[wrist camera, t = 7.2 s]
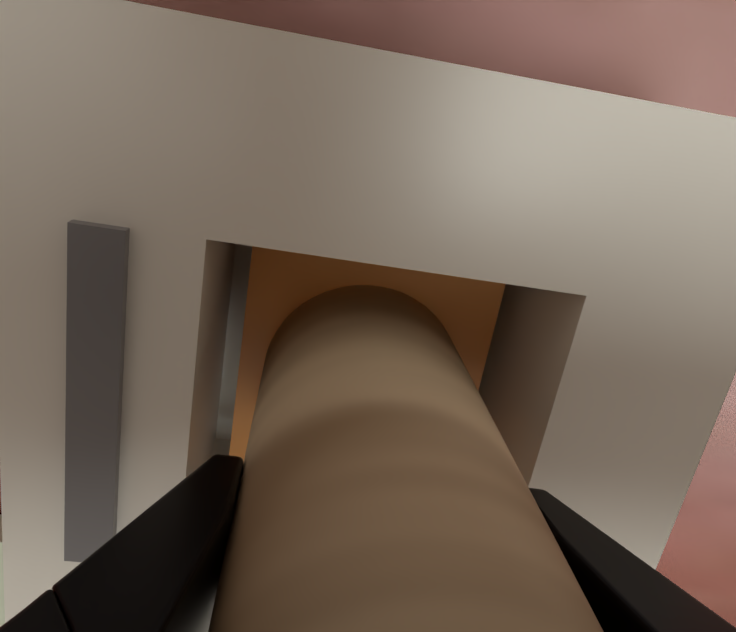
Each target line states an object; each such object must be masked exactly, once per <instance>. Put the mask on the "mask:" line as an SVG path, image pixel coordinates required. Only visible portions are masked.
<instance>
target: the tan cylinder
mask: <svg viewBox="0 0 736 632" xmlns="http://www.w3.org/2000/svg"><path fill="white" fill-rule="evenodd" d="M208 632H604V631H603V630H602V628H601V626H600V624H599V622H598V620H597V618H596V616H595V614H594V612H593V610H592V608H591V607H590V605H589V603H588V601H587V599H586V597H585V595H584V593H583V591H582V589H581V587H580V585H579V584H578V582H577V580H576V578H575V576H574V574H573V572H572V570H571V568H570V566H569V564H568V562H567V560H566V559H565V557H564V555H563V553H562V551H561V549H560V547H559V545H558V543H557V541H556V539H555V537H554V536H553V534H552V532H551V530H550V528H549V526H548V524H547V522H546V520H545V518H544V516H543V514H542V513H541V511H540V509H539V507H538V505H537V503H536V501H535V499H534V497H533V495H532V493H531V491H530V490H529V488H528V486H527V484H526V482H525V480H524V478H523V476H522V474H521V472H520V470H519V468H518V467H517V465H516V463H515V461H514V459H513V457H512V455H511V453H510V451H509V449H508V447H507V445H506V444H505V442H504V440H503V438H502V436H501V434H500V432H499V430H498V428H497V426H496V424H495V422H494V420H493V419H492V417H491V415H490V413H489V411H488V409H487V407H486V405H485V403H484V401H483V399H482V397H481V396H480V394H479V392H478V390H477V388H476V386H475V384H474V382H473V380H472V378H471V376H470V374H469V373H468V371H467V369H466V367H465V365H464V363H463V361H462V359H461V357H460V355H459V353H458V351H457V350H456V348H455V346H454V344H453V342H452V340H451V338H450V336H449V334H448V332H447V331H446V329H445V328H444V326H443V324H442V323H441V322H440V320H439V319H438V318H437V317H436V316H435V314H433V313H432V312H431V311H430V310H429V309H428V308H427V307H426V306H425V305H423V304H422V303H420V302H419V301H417V300H416V299H414V298H412V297H410V296H408V295H406V294H404V293H402V292H399V291H396V290H393V289H390V288H385V287H380V286H371V285H353V286H346V287H340V288H336V289H333V290H330V291H326V292H324V293H322V294H319V295H317V296H315V297H313V298H311V299H310V300H308V301H306V302H305V303H303V304H302V305H300V306H299V307H298V308H297V309H295V310H294V311H293V312H292V313H291V314H290V315H289V316H288V317H287V318H286V319H285V320H284V321H283V323H282V324H281V325H280V327H279V328H278V330H277V331H276V333H275V335H274V336H273V338H272V340H271V342H270V345H269V348H268V350H267V353H266V358H265V362H264V367H263V372H262V377H261V381H260V386H259V391H258V396H257V401H256V405H255V410H254V415H253V420H252V424H251V429H250V434H249V439H248V444H247V448H246V453H245V458H244V463H243V470H242V475H241V480H240V485H239V489H238V494H237V499H236V504H235V509H234V513H233V518H232V523H231V527H230V532H229V536H228V540H227V544H226V549H225V553H224V558H223V563H222V568H221V573H220V577H219V582H218V587H217V592H216V596H215V601H214V606H213V611H212V616H211V620H210V625H209V630H208Z"/></svg>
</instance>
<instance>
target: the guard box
mask: <svg viewBox="0 0 736 632" xmlns="http://www.w3.org/2000/svg"><path fill="white" fill-rule="evenodd" d="M252 246H254V247H261V248H268V249H275V250H281V251H288V252H295V253H302V254H308V255H315V256H322V257H328V258H335V259H342V260H349V261H355V262H362V263H369V264H376V265H382V266H389V267H396V268H403V269H409V270H416V271H423V272H429V273H436V274H443V275H450V276H456V277H463V278H470V279H477V280H483V281H490V282H497V283H503V284H506V285H505V289H504V293H503V297H502V301H501V305H500V309H499V312H498V316H497V320H496V324H495V328H494V332H493V336H492V340H491V344H490V348H489V351H488V355H487V359H486V363H485V367H484V371H483V375H482V379H481V383H480V386H479V390H478V392H479V394H480V396H481V397H482V399H483V401H484V403H485V405H486V407H487V409H488V411H489V413H490V415H491V417H492V419H493V420H494V422H495V424H496V426H497V428H498V430H499V432H500V434H501V436H502V438H503V440H504V442H505V444H506V445H507V447H508V449H509V451H510V453H511V455H512V457H513V459H514V461H515V463H516V465H517V467H518V468H519V470H520V472H521V474H522V476H523V478H524V480H525V482H526V484H527V486H528V488H536V489H543V490H545V491H547V492H549V493H550V494H551V495H553V496H554V497H555V498H557V499H558V500H560V501H561V502H562V503H564V504H565V505H566V506H568V507H569V508H571V509H572V510H573V511H575V512H576V513H578V514H579V515H580V516H582V517H583V518H584V519H586V520H587V521H589V522H590V523H591V524H593V525H594V526H596V527H597V528H598V529H600V530H601V531H602V532H604V533H605V534H607V535H608V536H609V537H611V538H612V539H613V540H615V541H616V542H618V543H619V544H620V545H622V546H623V547H625V548H626V549H627V550H629V551H630V552H631V553H633V554H634V555H636V556H637V557H638V558H640V559H641V560H643V561H644V562H645V563H647V564H648V565H649V566H651V567H652V568H654V569H655V570H656V567H657V565H658V562H659V560H660V557H661V555H662V553H663V550H664V548H665V545H666V543H667V540H668V538H669V535H670V533H671V530H672V528H673V525H674V523H675V520H676V518H677V516H678V513H679V511H680V508H681V506H682V503H683V501H684V498H685V496H686V493H687V491H688V488H689V486H690V484H691V481H692V479H693V476H694V474H695V471H696V469H697V466H698V464H699V461H700V459H701V456H702V454H703V451H704V449H705V447H706V444H707V442H708V439H709V437H710V434H711V432H712V429H713V427H714V424H715V422H716V419H717V417H718V415H719V412H720V410H721V407H722V405H723V402H724V400H725V397H726V395H727V392H728V390H729V387H730V385H731V382H732V380H733V378H734V375H735V373H736V118H735V117H730V116H725V115H719V114H714V113H709V112H704V111H699V110H693V109H688V108H683V107H678V106H673V105H667V104H662V103H657V102H652V101H646V100H641V99H636V98H631V97H626V96H620V95H615V94H610V93H605V92H600V91H594V90H589V89H584V88H579V87H574V86H568V85H563V84H558V83H553V82H548V81H542V80H537V79H532V78H527V77H521V76H516V75H511V74H506V73H501V72H495V71H490V70H485V69H480V68H475V67H469V66H464V65H459V64H454V63H449V62H443V61H438V60H433V59H428V58H422V57H417V56H412V55H407V54H402V53H396V52H391V51H386V50H381V49H376V48H370V47H365V46H360V45H355V44H350V43H344V42H339V41H334V40H329V39H323V38H318V37H313V36H308V35H303V34H297V33H292V32H287V31H282V30H277V29H271V28H266V27H261V26H256V25H251V24H245V23H240V22H235V21H230V20H224V19H219V18H214V17H209V16H204V15H198V14H193V13H188V12H183V11H178V10H172V9H167V8H162V7H157V6H152V5H146V4H141V3H136V2H131V1H126V0H0V479H1V511H2V544H3V576H4V609H5V623H6V622H7V621H9V620H10V619H11V618H13V617H14V616H15V615H16V614H18V613H19V612H20V611H22V610H23V609H24V608H25V607H27V606H28V605H29V604H30V603H32V602H33V601H34V600H35V599H37V598H38V597H39V596H40V595H41V594H43V593H44V592H45V591H46V590H49V589H51V590H52V587H53V585H54V584H55V583H57V582H58V581H59V580H60V579H62V578H63V577H64V576H65V575H67V574H68V573H69V572H70V571H71V570H73V569H74V568H75V567H76V566H78V565H79V564H80V563H81V562H83V561H84V560H85V559H86V558H87V557H89V556H90V555H91V554H92V553H94V552H95V551H96V550H97V549H99V548H100V547H101V546H102V545H103V544H105V543H106V542H107V541H108V540H110V539H111V538H112V537H113V536H115V535H116V534H117V533H118V532H119V531H121V530H122V529H123V528H124V527H126V526H127V525H128V524H129V523H131V522H132V521H133V520H134V519H135V518H137V517H138V516H139V515H140V514H142V513H143V512H144V511H145V510H147V509H148V508H149V507H150V506H151V505H153V504H154V503H155V502H156V501H158V500H159V499H160V498H161V497H163V496H164V495H165V494H166V493H167V492H169V491H170V490H171V489H172V488H174V487H175V486H176V485H177V484H179V483H180V482H181V481H182V480H183V479H185V478H186V477H187V476H188V475H190V474H191V473H192V472H193V471H195V470H196V469H197V468H198V467H199V466H201V465H202V464H203V463H204V462H206V461H207V460H208V459H209V458H211V457H212V456H213V455H216V454H220V455H229V451H230V442H231V433H232V424H233V415H234V406H235V397H236V388H237V379H238V370H239V362H240V353H241V344H242V335H243V326H244V317H245V308H246V299H247V290H248V281H249V272H250V263H251V254H252Z"/></svg>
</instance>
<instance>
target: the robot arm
mask: <svg viewBox="0 0 736 632" xmlns="http://www.w3.org/2000/svg"><path fill="white" fill-rule="evenodd" d="M242 470H243V459H242V458H241V457H239V456H230V455H220V454H216V455H213V456H212V457H211V458H209V459H208V460H207V461H206V462H204V463H203V464H202V465H201V466H199V467H198V468H197V469H196V470H195V471H193V472H192V473H191V474H190V475H188V476H187V477H186V478H185V479H183V480H182V481H181V482H180V483H179V484H177V485H176V486H175V487H174V488H172V489H171V490H170V491H169V492H167V493H166V494H165V495H164V496H163V497H161V498H160V499H159V500H158V501H156V502H155V503H154V504H153V505H151V506H150V507H149V508H148V509H147V510H145V511H144V512H143V513H142V514H140V515H139V516H138V517H137V518H135V519H134V520H133V521H132V522H131V523H129V524H128V525H127V526H126V527H124V528H123V529H122V530H121V531H119V532H118V533H117V534H116V535H115V536H113V537H112V538H111V539H110V540H108V541H107V542H106V543H105V544H103V545H102V546H101V547H100V548H99V549H97V550H96V551H95V552H94V553H92V554H91V555H90V556H89V557H87V558H86V559H85V560H84V561H83V562H81V563H80V564H79V565H78V566H76V567H75V568H74V569H73V570H71V571H70V572H69V573H68V574H67V575H65V576H64V577H63V578H62V579H60V580H59V581H58V582H57V583H55V584H54V585H53V587H52V590H51V589H49V590H46V591H45V592H44V593H43V594H41V595H40V596H39V597H38V598H37V599H35V600H34V601H33V602H32V603H30V604H29V605H28V606H27V607H25V608H24V609H23V610H22V611H20V612H19V613H18V614H16V615H15V616H14V617H13V618H11V619H10V620H9V621H7V622H6V623H5V624H3V625H2V626H1V627H0V632H208V630H209V625H210V620H211V616H212V611H213V606H214V601H215V596H216V592H217V587H218V582H219V577H220V573H221V568H222V563H223V558H224V553H225V549H226V544H227V540H228V536H229V532H230V527H231V523H232V518H233V513H234V509H235V504H236V499H237V494H238V489H239V485H240V480H241V475H242ZM529 490H530V491H531V493H532V495H533V497H534V499H535V501H536V503H537V505H538V507H539V509H540V511H541V513H542V514H543V516H544V518H545V520H546V522H547V524H548V526H549V528H550V530H551V532H552V534H553V536H554V537H555V539H556V541H557V543H558V545H559V547H560V549H561V551H562V553H563V555H564V557H565V559H566V560H567V562H568V564H569V566H570V568H571V570H572V572H573V574H574V576H575V578H576V580H577V582H578V584H579V585H580V587H581V589H582V591H583V593H584V595H585V597H586V599H587V601H588V603H589V605H590V607H591V608H592V610H593V612H594V614H595V616H596V618H597V620H598V622H599V624H600V626H601V628H602V630H603V631H604V632H736V628H735V627H734V626H732V625H731V624H730V623H728V622H727V621H726V620H724V619H723V618H721V617H720V616H719V615H717V614H716V613H715V612H713V611H712V610H710V609H709V608H708V607H706V606H705V605H703V604H702V603H701V602H699V601H698V600H697V599H695V598H694V597H692V596H691V595H690V594H688V593H687V592H685V591H684V590H683V589H681V588H680V587H679V586H677V585H676V584H674V583H673V582H672V581H670V580H669V579H667V578H666V577H665V576H663V575H662V574H661V573H659V572H658V571H656V570H655V569H654V568H652V567H651V566H649V565H648V564H647V563H645V562H644V561H643V560H641V559H640V558H638V557H637V556H636V555H634V554H633V553H631V552H630V551H629V550H627V549H626V548H625V547H623V546H622V545H620V544H619V543H618V542H616V541H615V540H613V539H612V538H611V537H609V536H608V535H607V534H605V533H604V532H602V531H601V530H600V529H598V528H597V527H596V526H594V525H593V524H591V523H590V522H589V521H587V520H586V519H584V518H583V517H582V516H580V515H579V514H578V513H576V512H575V511H573V510H572V509H571V508H569V507H568V506H566V505H565V504H564V503H562V502H561V501H560V500H558V499H557V498H555V497H554V496H553V495H551V494H550V493H549V492H547V491H545V490H543V489H536V488H529Z"/></svg>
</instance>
